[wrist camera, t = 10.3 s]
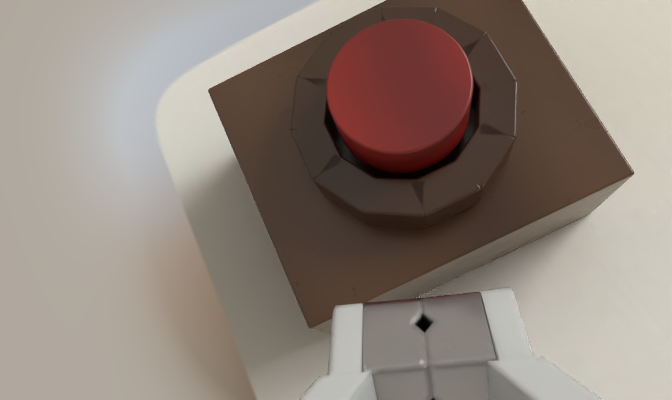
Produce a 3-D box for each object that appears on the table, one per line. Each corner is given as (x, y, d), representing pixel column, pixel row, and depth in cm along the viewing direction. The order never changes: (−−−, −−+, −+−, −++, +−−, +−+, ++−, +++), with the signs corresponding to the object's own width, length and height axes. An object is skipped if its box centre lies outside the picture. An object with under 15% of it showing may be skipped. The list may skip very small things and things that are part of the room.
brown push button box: (337, 334, 26) (295, 326, 18) (252, 141, 29) (185, 65, 21) (590, 214, 25) (657, 153, 18) (478, 30, 28) (494, -90, 20)
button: (370, 196, 19) (362, 178, 17) (315, 86, 20) (303, 58, 18) (494, 136, 19) (500, 111, 17) (431, 29, 20) (431, -6, 18)
